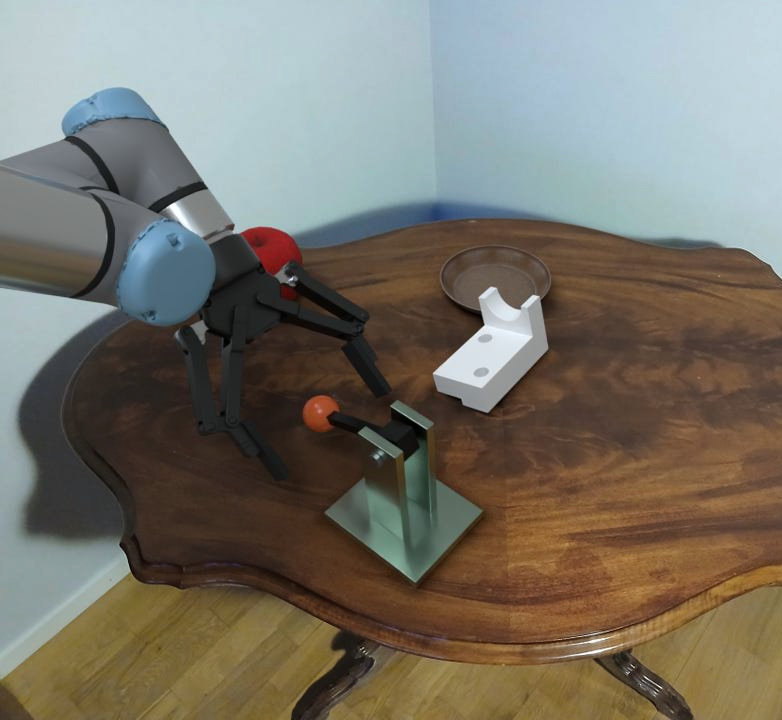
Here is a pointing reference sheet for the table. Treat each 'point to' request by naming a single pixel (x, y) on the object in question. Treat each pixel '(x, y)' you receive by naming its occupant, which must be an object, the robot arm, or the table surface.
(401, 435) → the clamp lever
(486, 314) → the bracket
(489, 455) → the table surface
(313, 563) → the table surface
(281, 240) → the apple
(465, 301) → the saucer
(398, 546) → the clamp
